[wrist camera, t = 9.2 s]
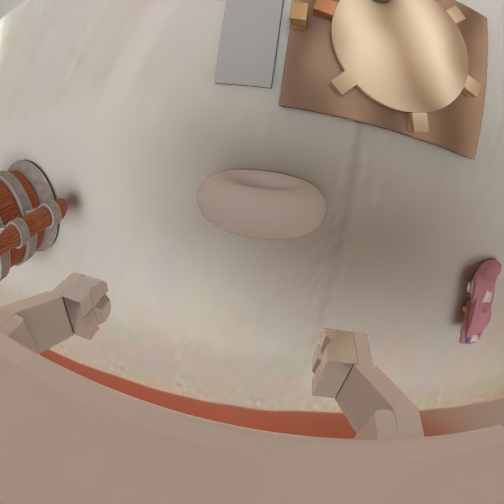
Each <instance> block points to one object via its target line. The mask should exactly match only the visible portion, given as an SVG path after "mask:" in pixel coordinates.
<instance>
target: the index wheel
mask: <svg viewBox="0 0 504 504" xmlns="http://www.w3.org/2000/svg"><path fill="white" fill-rule="evenodd" d="M337 4H338V5H337ZM313 15H316V16H319V17H322V18H325V19H327V20H330V21H331V20H332V21H331V28H330V39H331V45H332V49H333V52H334V55H335V57H336V60H337V62H338V64H339V66H340V67H341V69H342V71H343V73H341V74H340V75H338V76H337V77H335V78H334V79H332V80H331V81H330V82H329V84H330V85H331V86H332V88H333V89H334V90H335V91H336V92H337V94H338V95H339V96H341V95H342V94H344V93H345V92H347V91H348V90H350V89H351V88H352V87H354V86H355V87H356V88H357V89H359V90H360V91H361V92H362V93H363V94H364V95H366V96H367V97H369V98H370V99H372V100H373V101H375V102H377V103H378V104H381V105H383V106H385V107H387V108H390V109H393V110H397V111H402V112H412V113H406V118H407V127H408V131H413V132H429V127H428V118H427V113H425V112H432V111H436V110H439V109H442V108H444V107H446V106H447V105H449V104H450V103H451V102H453V101H454V100H455V99H456V98H457V97H458V95H459V94H460V93H461V92H462V93H464V94H465V95H466V96H468V97H478V93H479V90H480V87H481V84H479V83H478V82H477V81H476V80H474V79H473V78H472V77H470V76H469V75H468V67H469V62H468V53H467V48H466V45H465V41H464V39H463V36H462V34H461V32H460V30H459V28H458V26H457V25H456V23H458V22H460V21H461V20H463V19H465V17H464V15H463V14H462V13H461V11H460V10H459V9H458V8H457V6H454V7H452V8H450V9H448V10H445V9H444V8H443V7H442V6H441V5H440V4H439V3H437V2H436V1H435V0H340V1H339V3H337V2H335V1H332V0H317V1H316V3H315V6H314V8H313ZM332 17H333V18H332Z"/></svg>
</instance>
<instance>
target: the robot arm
mask: <svg viewBox="0 0 504 504" xmlns="http://www.w3.org/2000/svg"><path fill="white" fill-rule="evenodd" d="M107 291H108V288H107V283H105V282H104V281H102V280H99V279H96V278H92V277H89V276H86V275H83V274H79V273H72V274H71V275H70V276H69V277H67V278H66V279H65V280H64V281H63V282H62V283H61V284H59V285H58V286H57V287H56V288H55V289H54V290H53V291H52V292H45V293H42V294H39V295H36V296H33V297H30V298H27V299H24V300H20V301H17V302H14V303H11V304H8V305H6V306H3V307H2V308H1V309H0V504H504V425H499V426H494V427H489V428H484V429H479V430H473V431H468V432H462V433H455V434H448V435H441V436H430V437H424V433H423V428H422V424H421V419H420V415H419V411H418V408H417V407H416V406H415V405H414V404H413V403H412V402H411V401H410V400H409V399H408V398H407V397H406V396H405V395H404V394H403V393H402V392H401V391H400V390H399V389H398V387H397V386H396V385H395V384H394V383H393V382H392V381H391V380H390V379H389V378H388V377H387V376H386V375H385V374H384V373H383V372H382V371H381V370H380V369H379V368H378V367H377V366H373V362H372V358H371V353H370V348H369V344H368V339H367V335H366V334H365V333H362V332H353V331H352V332H350V331H342V330H335V329H328V328H324V329H323V331H322V333H321V336H320V344H318V345H317V346H316V349H315V352H314V357H313V363H312V371H313V372H314V374H315V375H314V377H313V379H312V395H315V396H322V397H330V398H335V400H336V402H337V403H338V405H339V406H340V408H341V409H342V411H343V413H344V414H345V416H346V417H347V419H348V420H349V422H350V424H351V425H352V427H353V428H354V430H355V432H356V433H357V435H356V436H355V437H354V439H338V438H322V437H309V436H300V435H290V434H283V433H275V432H269V431H262V430H256V429H251V428H245V427H240V426H235V425H230V424H225V423H221V422H216V421H212V420H208V419H203V418H199V417H196V416H192V415H188V414H184V413H181V412H177V411H174V410H170V409H167V408H164V407H161V406H158V405H154V404H151V403H149V402H146V401H143V400H140V399H137V398H134V397H132V396H129V395H126V394H124V393H121V392H118V391H116V390H113V389H111V388H108V387H106V386H103V385H101V384H99V383H96V382H94V381H92V380H89V379H87V378H85V377H83V376H81V375H78V374H76V373H74V372H72V371H70V370H68V369H66V368H64V367H62V366H60V365H58V364H56V363H54V362H52V361H50V360H48V359H46V358H45V357H42V356H41V355H39V354H40V353H41V352H43V351H45V350H47V349H49V348H51V347H52V346H54V345H56V344H58V343H60V342H62V341H63V340H65V339H67V338H69V337H71V336H73V335H74V334H76V335H78V336H81V337H84V338H86V339H89V340H91V338H92V337H93V336H94V335H95V333H96V332H97V331H98V330H99V326H98V325H99V324H101V323H104V322H105V321H106V319H107V318H108V316H109V313H110V308H111V304H110V300H109V298H108V297H107V295H106V293H107Z"/></svg>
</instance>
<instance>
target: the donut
mask: <svg viewBox="0 0 504 504" xmlns="http://www.w3.org/2000/svg"><path fill="white" fill-rule="evenodd" d="M197 203H198V206H199V208H200V210H201V212H202V214H203V216H204V217H205V218H206V219H207V220H208V221H210V222H211V223H212V224H214V225H215V226H217V227H219V228H221V229H224V230H226V231H229V232H231V233H234V234H237V235H242V236H246V237H250V238H258V239H267V240H279V239H292V238H297V237H302V236H305V235H307V234H309V233H310V232H312V231H314V230H315V229H317V228H318V227H319V226H320V225H321V224H322V222H323V219H324V217H325V213H326V201H325V198H324V197H323V195H322V194H321V192H320V191H319V190H318V189H317V188H316V187H315V186H313V185H312V184H310V183H308V182H306V181H304V180H302V179H299V178H296V177H293V176H289V175H285V174H280V173H275V172H269V171H261V170H245V169H240V170H226V171H221V172H218V173H216V174H213V175H210V176H209V177H208V178H206V179H205V180H204V182H203V183H202V184H201V186H200V188H199V189H198V193H197Z"/></svg>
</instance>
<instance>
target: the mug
mask: <svg viewBox="0 0 504 504" xmlns="http://www.w3.org/2000/svg"><path fill="white" fill-rule="evenodd" d="M66 211H67V203H66V202H65V201H64V200H63V199H59V200H56V201H55V198H54V194H53V192H52V189H51V187H50V184H49V183H48V181H47V179H46V177H45V176H44V175H43V173H42V172H41V171H40V170H39V169H38V168H37V167H36V166H35V165H34V164H32V163H30V162H28V161H24V160H21V161H17V162H15V163H14V164H13V165H12V166H11V167H10V168H9V169H8V171H0V281H1V280H2V279H3V278H5V277H6V276H7V274H8V273H9V269H10V268H11V267H12V266H13V265H14V266H18V265H21V264H23V263H24V262H25V261H27V260H28V259H29V258H31V257H32V255H33V254H34V252H35V251H45V250H47V249H49V248H50V247H51V245H52V244H53V242H54V240H55V238H56V234H57V225H58V224H59V223H60V221H61V219H63V218H64V216H65V213H66Z"/></svg>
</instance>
